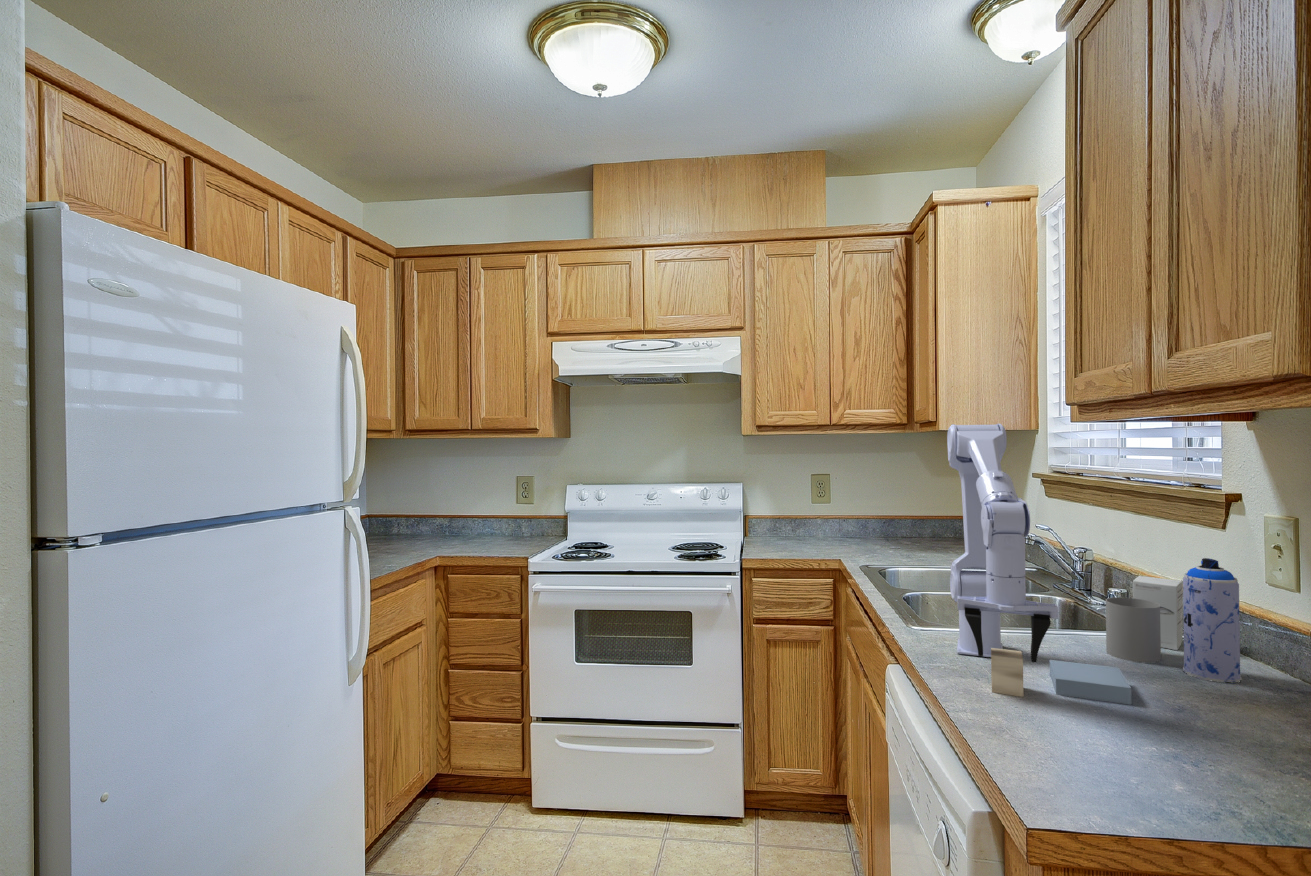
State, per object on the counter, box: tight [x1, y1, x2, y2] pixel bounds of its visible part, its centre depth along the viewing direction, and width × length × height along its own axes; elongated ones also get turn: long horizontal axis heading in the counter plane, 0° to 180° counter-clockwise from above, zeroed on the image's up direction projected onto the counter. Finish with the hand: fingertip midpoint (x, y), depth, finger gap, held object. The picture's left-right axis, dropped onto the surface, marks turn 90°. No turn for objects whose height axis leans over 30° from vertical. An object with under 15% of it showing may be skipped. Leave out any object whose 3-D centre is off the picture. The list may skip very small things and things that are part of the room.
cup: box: [1105, 596, 1162, 663], centre depth 125 cm, size 8×8×10 cm
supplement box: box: [1132, 575, 1184, 651], centre depth 133 cm, size 7×7×13 cm
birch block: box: [990, 648, 1024, 698], centre depth 109 cm, size 4×4×6 cm
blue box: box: [1049, 659, 1132, 706], centre depth 109 cm, size 10×10×3 cm
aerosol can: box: [1182, 557, 1243, 683], centre depth 115 cm, size 8×8×20 cm
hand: (1006, 657), depth 109 cm, fingers open, 7 cm apart
